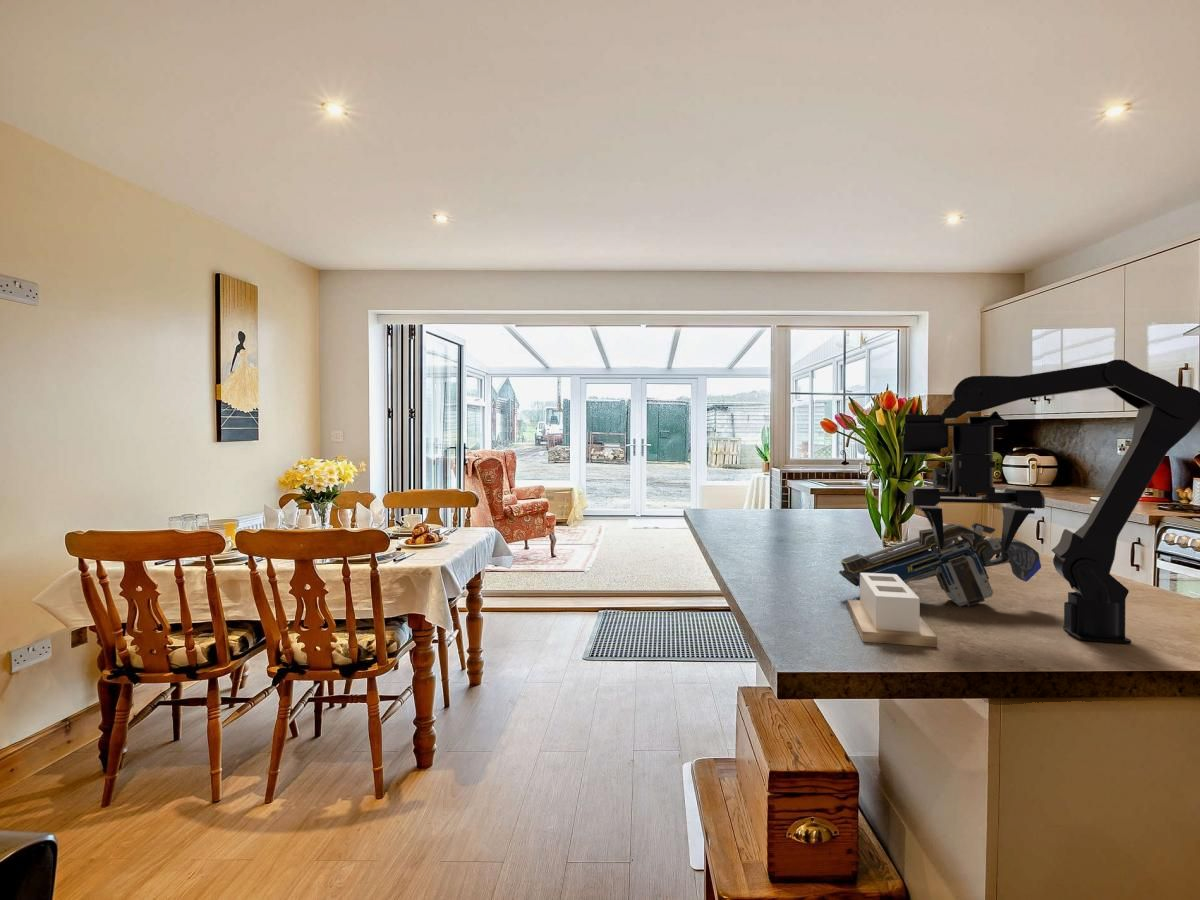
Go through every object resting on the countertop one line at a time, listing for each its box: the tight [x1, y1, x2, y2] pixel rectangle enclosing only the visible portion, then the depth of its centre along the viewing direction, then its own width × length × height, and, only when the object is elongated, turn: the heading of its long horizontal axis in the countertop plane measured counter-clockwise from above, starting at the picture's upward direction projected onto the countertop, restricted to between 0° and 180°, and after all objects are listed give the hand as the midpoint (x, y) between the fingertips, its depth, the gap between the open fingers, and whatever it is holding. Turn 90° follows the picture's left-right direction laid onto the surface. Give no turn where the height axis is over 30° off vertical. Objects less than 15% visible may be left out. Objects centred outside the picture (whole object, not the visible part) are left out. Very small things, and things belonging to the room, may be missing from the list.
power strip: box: [859, 573, 921, 632], centre depth 104 cm, size 18×6×5 cm, turn 165°
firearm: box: [838, 522, 1042, 607], centre depth 118 cm, size 8×33×15 cm, turn 77°
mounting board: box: [846, 599, 938, 648], centre depth 103 cm, size 10×20×5 cm, turn 165°
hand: (972, 550), depth 104 cm, fingers open, 9 cm apart
